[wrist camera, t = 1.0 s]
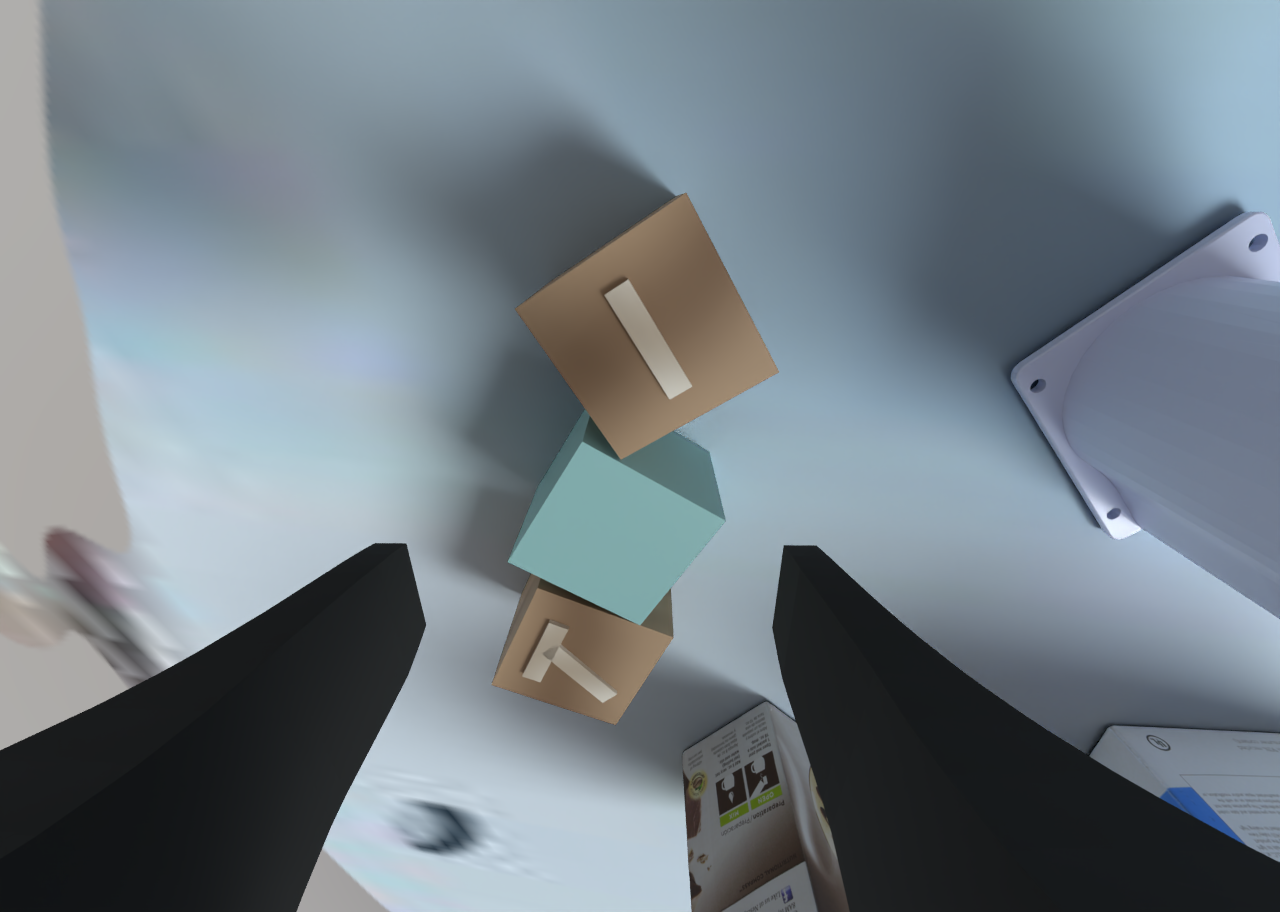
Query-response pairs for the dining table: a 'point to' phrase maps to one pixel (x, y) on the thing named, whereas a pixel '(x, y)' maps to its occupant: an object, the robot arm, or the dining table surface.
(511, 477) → the dining table surface
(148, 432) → the dining table surface
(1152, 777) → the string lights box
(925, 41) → the dining table surface
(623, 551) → the plain block
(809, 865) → the coffee box
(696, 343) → the digit block one
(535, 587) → the digit block seven
